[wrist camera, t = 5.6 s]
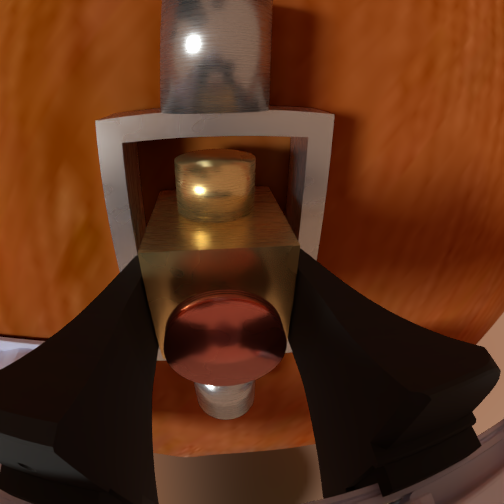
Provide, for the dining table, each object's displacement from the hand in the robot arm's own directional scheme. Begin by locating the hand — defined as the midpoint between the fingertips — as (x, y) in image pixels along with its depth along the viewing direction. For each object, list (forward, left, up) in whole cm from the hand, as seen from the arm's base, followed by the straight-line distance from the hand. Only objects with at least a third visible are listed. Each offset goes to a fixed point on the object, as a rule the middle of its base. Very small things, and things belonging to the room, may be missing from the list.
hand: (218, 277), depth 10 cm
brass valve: (0, 0, -3) cm, 3 cm away
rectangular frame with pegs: (0, 0, -3) cm, 3 cm away
